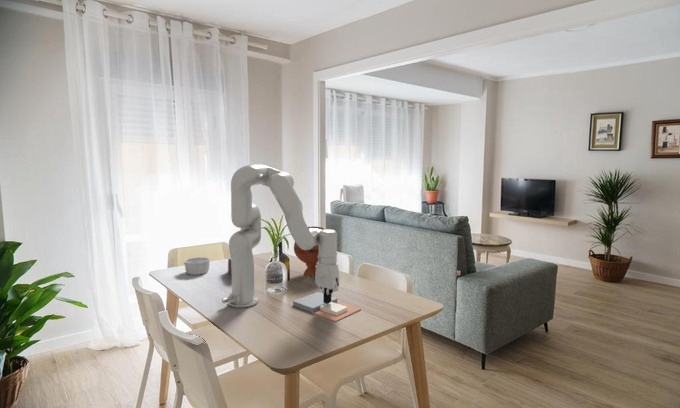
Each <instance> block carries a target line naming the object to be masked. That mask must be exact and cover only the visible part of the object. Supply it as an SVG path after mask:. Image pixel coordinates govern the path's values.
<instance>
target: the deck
mask: <svg viewBox="0 0 680 408" xmlns="http://www.w3.org/2000/svg"><path fill="white" fill-rule="evenodd" d="M323 301H324V293H322V292H319V291H316V292H314V293H312V294H308V295H306V296H302V297H300V298H297V299H295V300H293V301H292V306H293V307H296V308H298V309H302V310H304V311H307V312H309V313H312V314H313V313H314V312H316V311H319V310H320V306H322V305H324V304H326V303H324V302H323ZM331 302H334V303H338V298H337V297H335V296H331Z"/></svg>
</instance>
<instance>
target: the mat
mask: <svg viewBox="0 0 680 408" xmlns="http://www.w3.org/2000/svg"><path fill="white" fill-rule="evenodd" d="M337 304H340V305H343V306H346V307H348V308H347V311H345V312H343V313H341V314H339V315H337V316H336V315H333V314H330V313H327V312H324V311H322V310H319V311H316V312H314V313H312V314H313V315H315V316H319V317H320V318H324V319H327V320H329V321H331V322H335V323H336V322H339V321H340V320H344V319H345V318H347V317H349V316H352V315H353V314H355V313H357V312H360V311H361V310H362V309H361V308H359V307H356V306H352V305H349V304H346V303H343V302H341V301H337Z"/></svg>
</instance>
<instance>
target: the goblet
mask: <svg viewBox="0 0 680 408" xmlns="http://www.w3.org/2000/svg"><path fill="white" fill-rule="evenodd" d="M307 227H308V228H316V229H321V230H326V229H325V228H324V227H320V226H307ZM293 251H294V254H295V256H296V257H297V259H299V261H301V262H303V263H304V264H305V266H306V267H307V268H306V269H305V270H304V271H303V275H305V276H306V277H307V276H308V277H315V273H316V266H317V262H319V258H318V255H319V245H316V246H314V247H313V248H312V249H310V250H303V249H301V248H300V247H299V246H298V245H297V244H296V242H295V241H294V244H293Z"/></svg>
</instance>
